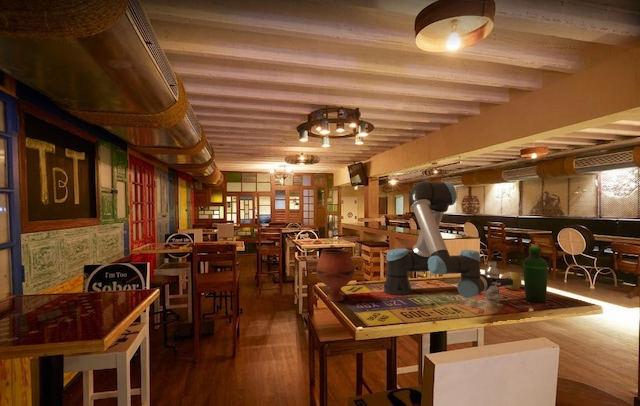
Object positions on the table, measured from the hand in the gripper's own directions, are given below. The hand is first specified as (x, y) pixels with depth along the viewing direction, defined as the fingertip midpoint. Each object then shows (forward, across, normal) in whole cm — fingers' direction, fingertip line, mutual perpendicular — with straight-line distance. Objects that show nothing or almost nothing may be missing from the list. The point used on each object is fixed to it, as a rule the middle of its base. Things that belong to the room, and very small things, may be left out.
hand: (494, 276), depth 156 cm
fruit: (+32, -1, -13) cm, 35 cm away
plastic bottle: (-3, 0, -13) cm, 13 cm away
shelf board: (-12, -2, -12) cm, 18 cm away
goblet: (-53, -58, -13) cm, 80 cm away
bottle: (+16, +14, -13) cm, 25 cm away
